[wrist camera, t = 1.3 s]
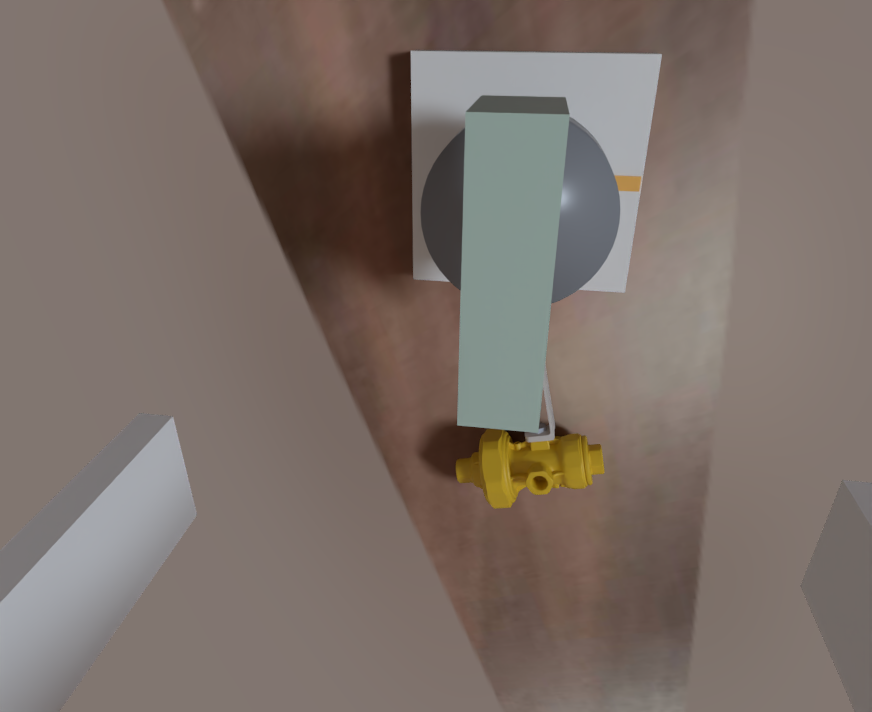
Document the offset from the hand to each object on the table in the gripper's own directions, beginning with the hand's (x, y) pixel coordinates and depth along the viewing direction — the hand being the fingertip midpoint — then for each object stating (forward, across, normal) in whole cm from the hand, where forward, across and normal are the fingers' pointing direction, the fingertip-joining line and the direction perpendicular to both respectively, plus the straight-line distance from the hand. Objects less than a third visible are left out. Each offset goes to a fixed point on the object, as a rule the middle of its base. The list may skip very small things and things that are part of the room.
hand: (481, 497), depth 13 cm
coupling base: (+28, 0, 0) cm, 28 cm away
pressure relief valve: (+28, +1, -16) cm, 33 cm away
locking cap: (+21, 0, 0) cm, 21 cm away
